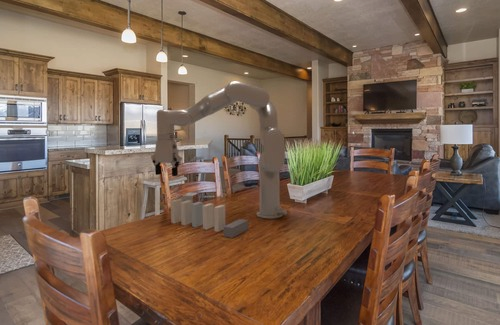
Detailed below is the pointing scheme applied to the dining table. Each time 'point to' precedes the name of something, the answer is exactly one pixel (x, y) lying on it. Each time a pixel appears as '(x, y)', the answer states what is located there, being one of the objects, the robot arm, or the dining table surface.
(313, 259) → the dining table surface
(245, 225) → the end block
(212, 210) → the tile
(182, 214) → the tile
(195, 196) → the small box
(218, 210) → the tile
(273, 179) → the robot arm
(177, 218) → the end tile
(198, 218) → the tile
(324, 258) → the dining table surface
